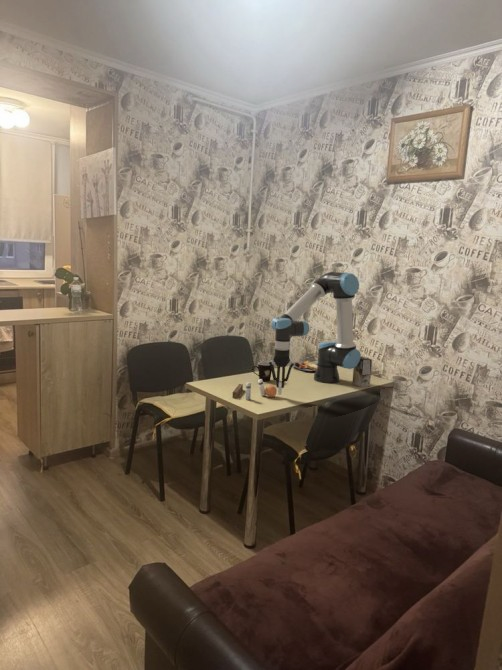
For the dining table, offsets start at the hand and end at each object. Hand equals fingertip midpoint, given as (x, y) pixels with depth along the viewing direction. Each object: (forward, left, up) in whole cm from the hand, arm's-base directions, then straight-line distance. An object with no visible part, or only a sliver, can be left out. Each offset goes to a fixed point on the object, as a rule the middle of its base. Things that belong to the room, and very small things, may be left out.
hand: (279, 393), depth 239 cm
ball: (+5, 0, +1) cm, 5 cm away
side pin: (+15, +8, -2) cm, 17 cm away
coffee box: (-43, -39, -2) cm, 58 cm away
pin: (+8, 0, -2) cm, 8 cm away
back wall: (+22, 0, -2) cm, 22 cm away
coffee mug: (+14, -31, -2) cm, 34 cm away
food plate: (-12, -71, -3) cm, 72 cm away
